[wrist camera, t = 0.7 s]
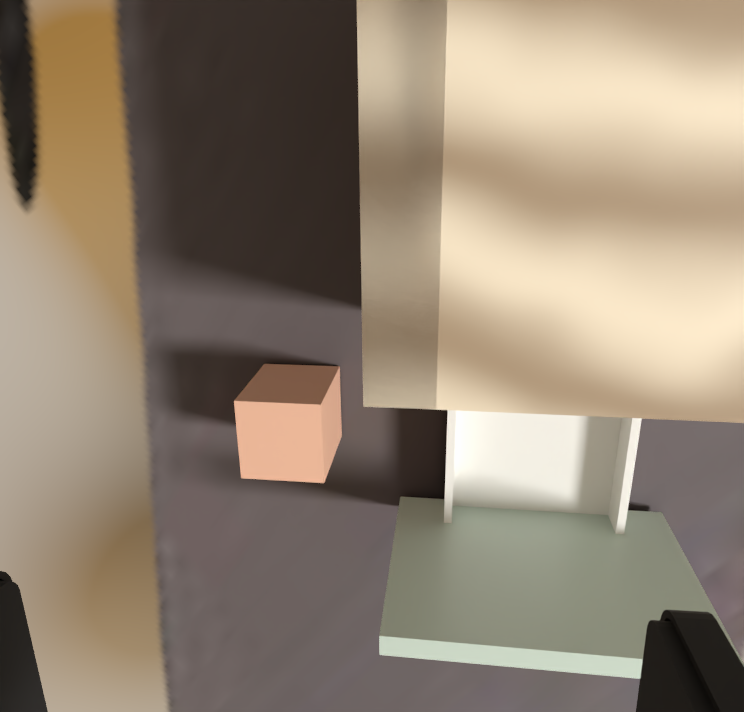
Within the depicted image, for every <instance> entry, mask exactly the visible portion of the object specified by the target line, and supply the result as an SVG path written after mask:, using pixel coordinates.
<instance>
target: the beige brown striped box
mask: <svg viewBox="0 0 744 712" xmlns="http://www.w3.org/2000/svg"><path fill="white" fill-rule="evenodd" d="M357 50H358V109H359V169H360V229H361V289H362V349H363V406H364V407H387V408H410V409H434V410H457V411H480V412H504V413H527V414H550V415H573V416H597V417H620V418H643V419H667V420H690V421H713V422H737V423H744V0H357Z"/></svg>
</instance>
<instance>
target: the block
mask: <svg viewBox="0 0 744 712" xmlns="http://www.w3.org/2000/svg"><path fill="white" fill-rule="evenodd" d="M234 407H235V418H236V428H237V439H238V449H239V460H240V471H241V478H245V479H263V480H280V481H297V482H314V483H324V482H325V480H326V477H327V474H328V471H329V469H330V466H331V463H332V461H333V458H334V455H335V453H336V450H337V447H338V445H339V442H340V439H341V436H342V428H341V395H340V366H314V365H286V364H264V365H263V366H262V367H261V369H260V370H259V371H258V372H257V373H256V375H255V376H254V377H253V378H252V380H251V381H250V382H249V383H248V384H247V386H246V387H245V388H244V389H243V390H242V392H241V393H240V394H239V395H238V397H237V398H236V399H235V400H234Z"/></svg>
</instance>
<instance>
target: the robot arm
mask: <svg viewBox="0 0 744 712" xmlns="http://www.w3.org/2000/svg"><path fill="white" fill-rule="evenodd" d="M0 712H47V707H46V702H45V698H44V694H43V689H42V685H41V681H40V676H39V672H38V668H37V663H36V659H35V654H34V650H33V646H32V641H31V637H30V633H29V628H28V624H27V619H26V615H25V611H24V606H23V602H22V598H21V593H20V589H19V587H18V585H17V584H16V583H14V582H12V580H11V577H10V576H9V575H8V574H7V573H6V572H2V571H0ZM636 712H744V666H743V664H742V663H741V661H740V659H739V657H738V656H737V654H736V652H735V651H734V649H733V647H732V646H731V644H730V642H729V640H728V639H727V637H726V635H725V634H724V632H723V630H722V628H721V627H720V625H719V623H718V622H717V620H716V619H715V617H714V616H713V615H712V614H711V613H709V612H700V611H683V610H664V611H663V613H662V615H661V619H660V620H650V621H649V623H648V625H647V631H646V639H645V646H644V654H643V662H642V669H641V677H640V685H639V693H638V700H637V708H636Z"/></svg>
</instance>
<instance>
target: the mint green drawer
mask: <svg viewBox="0 0 744 712" xmlns="http://www.w3.org/2000/svg"><path fill="white" fill-rule="evenodd" d="M641 420H642V418H620V417H597V416H573V415H550V414H527V413H504V412H480V411H457V410H447V440H446V469H445V498H444V499H433V498H416V497H400V501H399V508H398V515H397V521H396V528H395V535H394V541H393V548H392V555H391V562H390V568H389V575H388V582H387V588H386V595H385V602H384V608H383V615H382V622H381V628H380V635H379V652H380V655H387V656H398V657H409V658H420V659H431V660H442V661H453V662H463V663H474V664H485V665H496V666H507V667H518V668H529V669H540V670H551V671H561V672H572V673H583V674H594V675H605V676H616V677H627V678H638V679H640V677H641V669H642V662H643V654H644V646H645V639H646V631H647V625H648V623H649V621H650V620H660V619H661V615H662V613H663V611H664V610H683V611H700V612H709V613H711V614H712V615H713V616H714V617H715V619H716V620H717V622H718V623H719V625H720V627H721V628H722V630H723V632H724V634H725V635H726V637H727V639H728V640H729V642H730V644H731V646H732V647H733V649H734V651H735V652H736V654H737V656H738V657H739V659H740V661H741V663H742V664H743V666H744V663H743V661H742V659H741V657H740V656H739V654H738V652H737V650H736V648H735V646H734V645H733V643H732V641H731V639H730V637H729V635H728V633H727V632H726V630H725V628H724V626H723V624H722V622H721V621H720V619H719V617H718V615H717V613H716V611H715V610H714V608H713V606H712V604H711V602H710V600H709V599H708V597H707V595H706V593H705V591H704V589H703V588H702V586H701V584H700V582H699V580H698V578H697V577H696V575H695V573H694V571H693V569H692V567H691V565H690V564H689V562H688V560H687V558H686V556H685V554H684V553H683V551H682V549H681V547H680V545H679V543H678V542H677V540H676V538H675V536H674V534H673V532H672V531H671V529H670V527H669V525H668V523H667V521H666V520H665V518H664V516H663V514H662V512H649V511H632V510H628V505H629V499H630V492H631V485H632V479H633V472H634V466H635V459H636V452H637V446H638V439H639V433H640V426H641Z"/></svg>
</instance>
